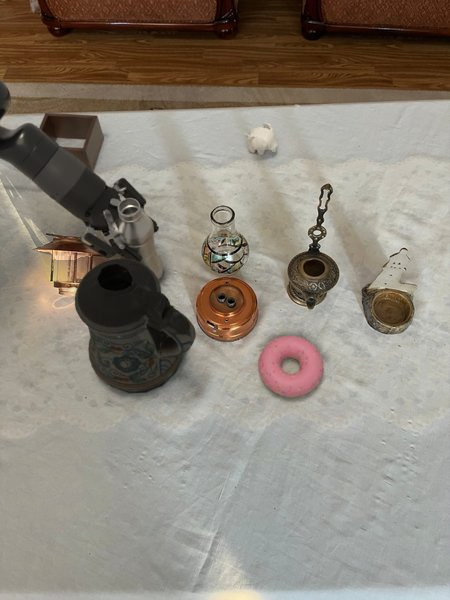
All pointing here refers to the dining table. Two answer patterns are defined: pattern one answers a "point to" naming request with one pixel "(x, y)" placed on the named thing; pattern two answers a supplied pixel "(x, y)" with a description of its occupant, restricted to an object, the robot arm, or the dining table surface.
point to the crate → (76, 134)
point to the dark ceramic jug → (131, 326)
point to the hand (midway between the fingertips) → (147, 245)
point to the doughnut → (293, 382)
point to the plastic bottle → (139, 234)
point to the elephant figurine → (262, 139)
